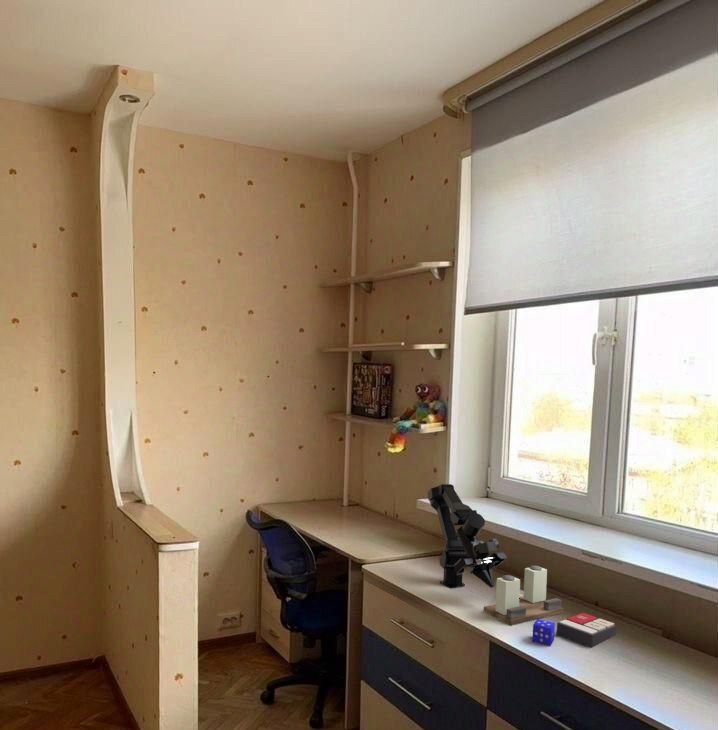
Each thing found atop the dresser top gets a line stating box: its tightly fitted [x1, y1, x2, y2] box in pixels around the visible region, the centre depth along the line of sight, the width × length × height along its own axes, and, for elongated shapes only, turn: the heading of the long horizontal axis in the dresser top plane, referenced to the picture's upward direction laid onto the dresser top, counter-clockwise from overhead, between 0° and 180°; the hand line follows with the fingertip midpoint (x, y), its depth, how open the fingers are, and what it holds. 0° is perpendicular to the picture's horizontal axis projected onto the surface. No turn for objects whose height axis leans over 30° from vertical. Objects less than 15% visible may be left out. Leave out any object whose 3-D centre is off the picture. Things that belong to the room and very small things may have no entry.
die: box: [531, 619, 556, 647], centre depth 179 cm, size 5×5×5 cm
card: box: [520, 589, 524, 599], centre depth 215 cm, size 8×6×1 cm
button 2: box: [523, 564, 548, 603], centre depth 207 cm, size 4×6×11 cm, turn 122°
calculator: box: [556, 612, 617, 648], centre depth 185 cm, size 11×4×15 cm
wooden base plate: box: [482, 597, 565, 626], centre depth 200 cm, size 12×23×4 cm, turn 121°
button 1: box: [495, 574, 521, 615], centre depth 195 cm, size 4×6×11 cm, turn 121°
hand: (492, 586), depth 201 cm, fingers closed
